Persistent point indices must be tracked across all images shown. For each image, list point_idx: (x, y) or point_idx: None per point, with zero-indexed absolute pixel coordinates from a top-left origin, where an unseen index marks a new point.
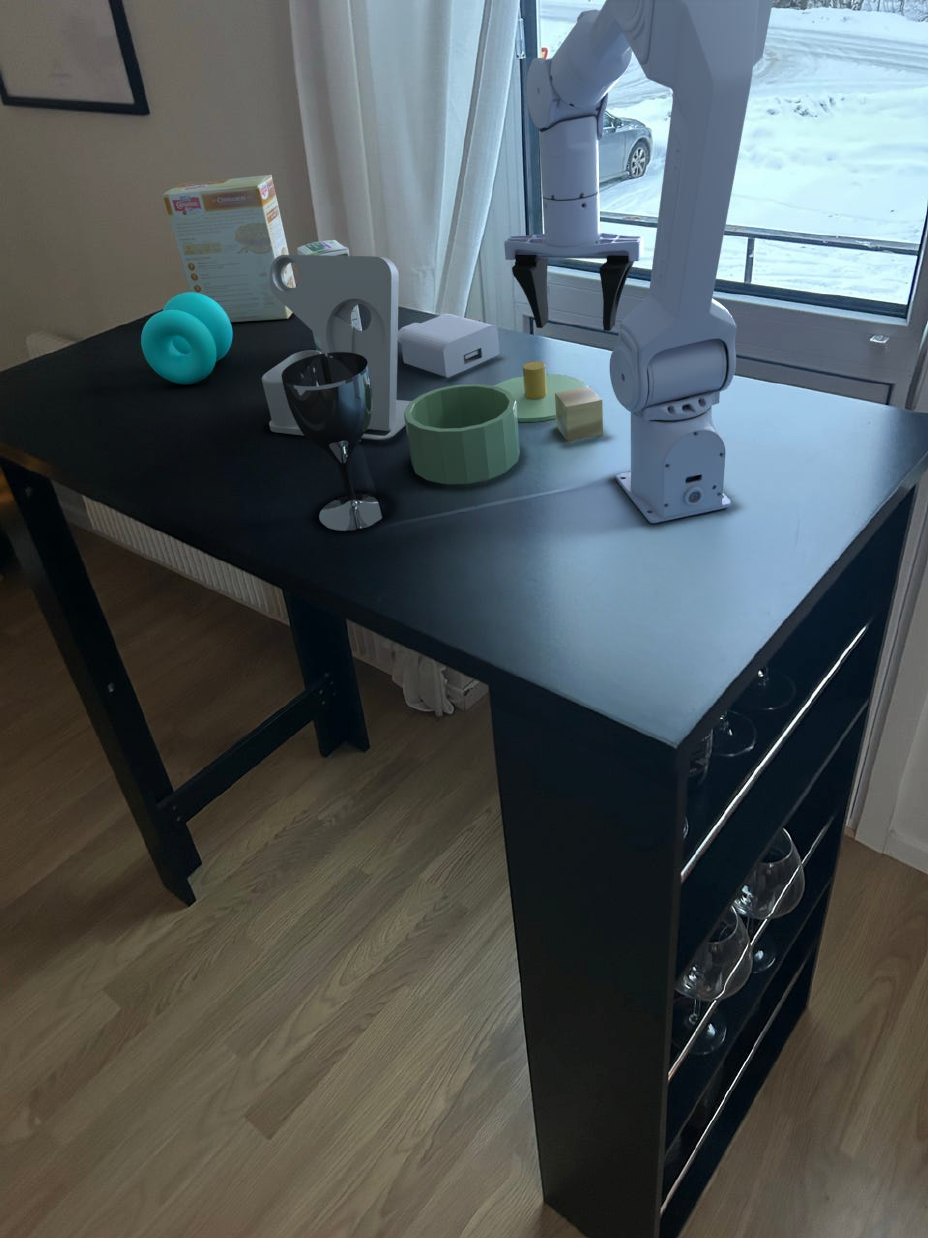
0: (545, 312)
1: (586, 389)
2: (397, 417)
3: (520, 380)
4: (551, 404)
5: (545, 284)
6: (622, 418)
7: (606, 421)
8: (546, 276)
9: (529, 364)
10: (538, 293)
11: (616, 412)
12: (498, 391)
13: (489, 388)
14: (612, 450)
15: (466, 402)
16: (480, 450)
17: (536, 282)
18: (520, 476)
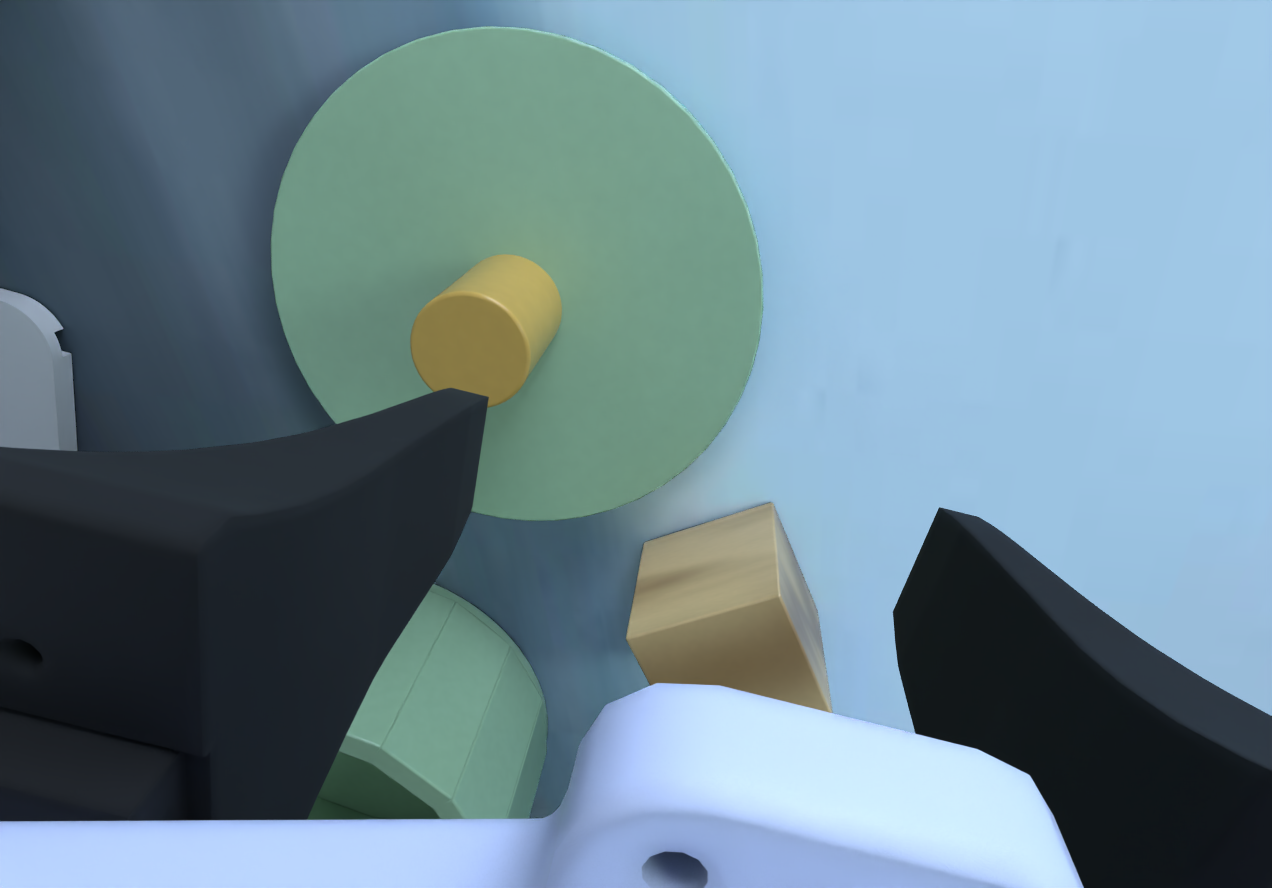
0: (457, 471)
1: (764, 625)
2: (3, 439)
3: (395, 121)
4: (599, 411)
5: (374, 508)
6: (901, 461)
7: (834, 481)
8: (347, 504)
9: (442, 337)
10: (366, 659)
11: (880, 406)
12: (401, 785)
13: (354, 756)
14: (847, 681)
15: None
16: None
17: (316, 770)
18: (568, 785)
